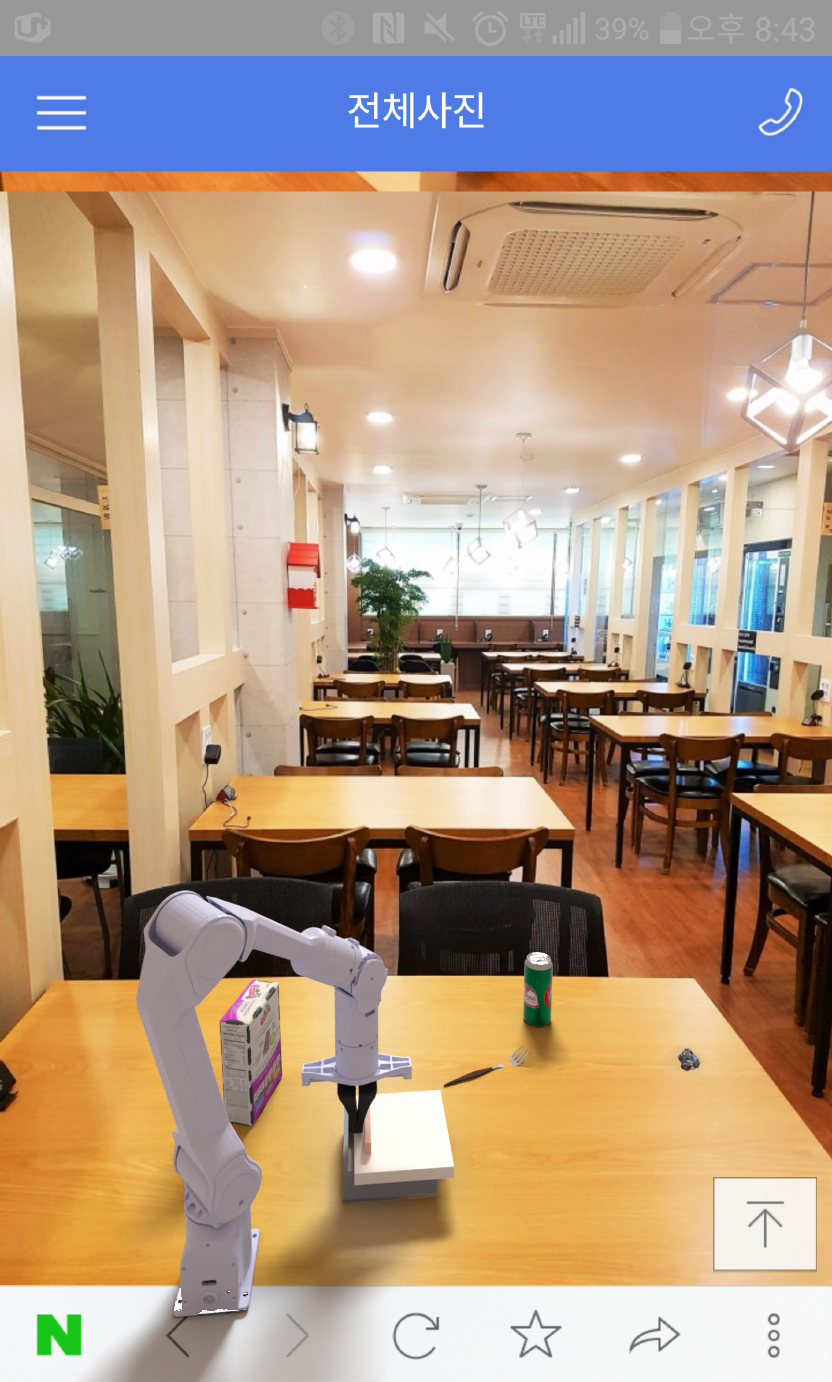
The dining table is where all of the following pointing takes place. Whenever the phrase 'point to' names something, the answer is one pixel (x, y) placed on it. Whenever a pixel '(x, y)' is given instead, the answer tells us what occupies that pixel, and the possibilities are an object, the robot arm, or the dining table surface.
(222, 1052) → the candy bar box
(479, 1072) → the fork
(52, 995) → the dining table surface
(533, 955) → the soda can
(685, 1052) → the blueberries
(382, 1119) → the lid
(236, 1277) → the robot arm
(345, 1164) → the mailer tray
